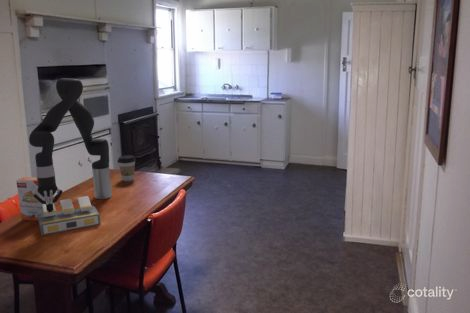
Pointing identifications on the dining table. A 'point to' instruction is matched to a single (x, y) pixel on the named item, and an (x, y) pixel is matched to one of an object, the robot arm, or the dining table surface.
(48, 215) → the rocker left
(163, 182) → the dining table surface
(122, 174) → the coffee cup
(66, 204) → the rocker mid
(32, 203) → the cracker box
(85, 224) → the switch unit
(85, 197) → the rocker right
